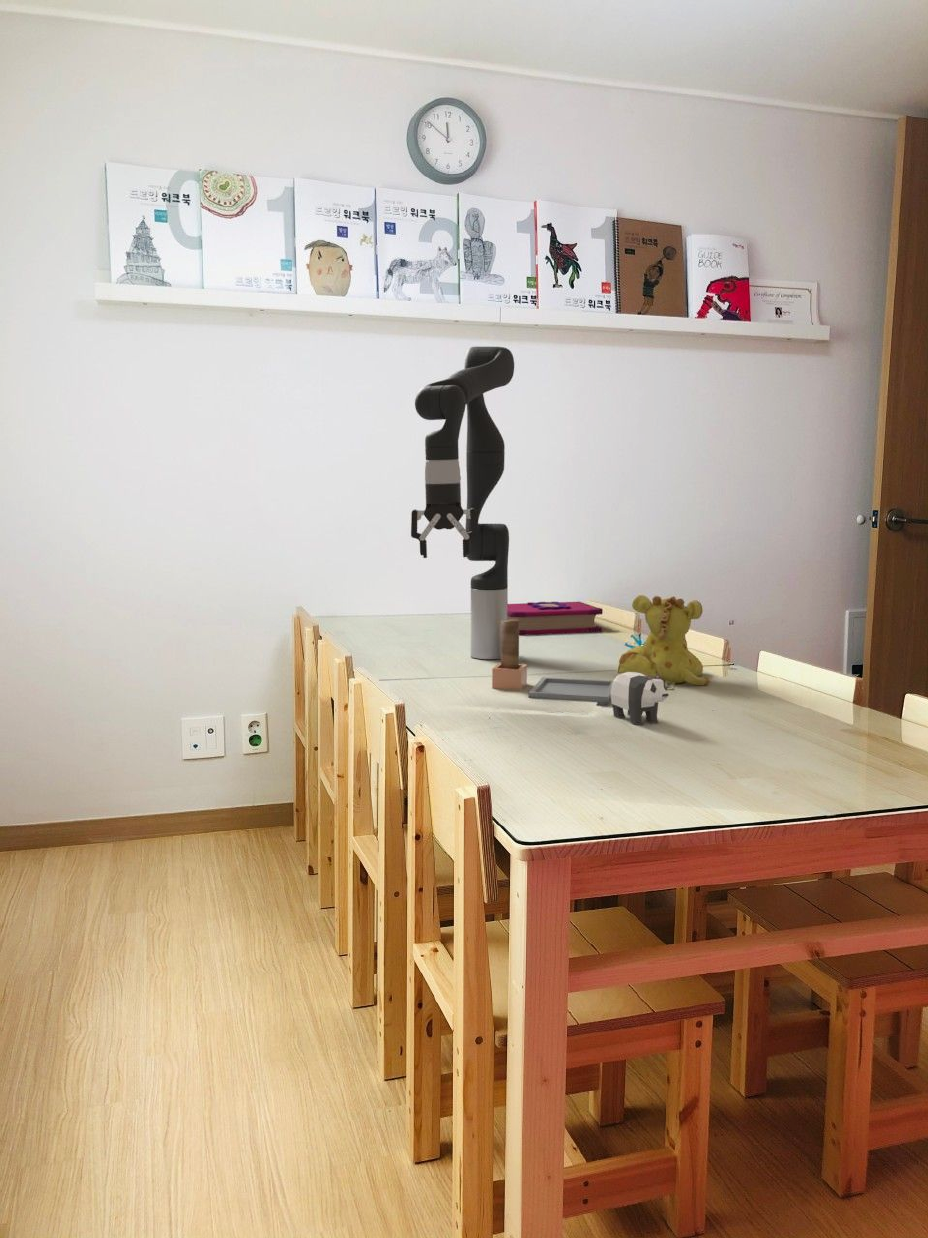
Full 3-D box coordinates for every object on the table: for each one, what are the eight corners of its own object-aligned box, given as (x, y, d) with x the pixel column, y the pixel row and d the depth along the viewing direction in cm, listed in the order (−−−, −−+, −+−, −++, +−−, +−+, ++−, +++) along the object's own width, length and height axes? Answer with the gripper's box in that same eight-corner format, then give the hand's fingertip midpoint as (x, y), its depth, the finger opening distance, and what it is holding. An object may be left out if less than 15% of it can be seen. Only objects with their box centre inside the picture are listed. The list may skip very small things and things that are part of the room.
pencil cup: (498, 685, 220) (498, 663, 219) (526, 687, 218) (526, 664, 217) (492, 691, 214) (492, 668, 213) (521, 693, 212) (521, 669, 212)
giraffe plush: (694, 668, 240) (697, 588, 237) (724, 690, 216) (727, 600, 213) (608, 669, 239) (610, 588, 236) (628, 691, 215) (630, 601, 213)
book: (491, 626, 308) (491, 601, 307) (578, 623, 315) (578, 598, 314) (511, 637, 288) (511, 610, 287) (603, 633, 295) (604, 607, 293)
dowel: (502, 683, 218) (503, 619, 216) (520, 684, 217) (520, 619, 215) (499, 687, 215) (499, 621, 213) (516, 688, 214) (517, 622, 212)
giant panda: (607, 715, 194) (608, 665, 192) (631, 712, 196) (632, 663, 195) (652, 732, 180) (653, 680, 179) (677, 729, 183) (679, 677, 181)
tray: (542, 685, 220) (542, 677, 220) (616, 689, 216) (616, 681, 216) (528, 701, 205) (528, 692, 205) (608, 705, 201) (608, 696, 201)
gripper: (408, 483, 212) (411, 560, 215) (476, 481, 212) (478, 558, 215) (410, 481, 220) (413, 556, 222) (476, 480, 220) (477, 554, 222)
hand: (445, 557), depth 219 cm, fingers open, 8 cm apart
